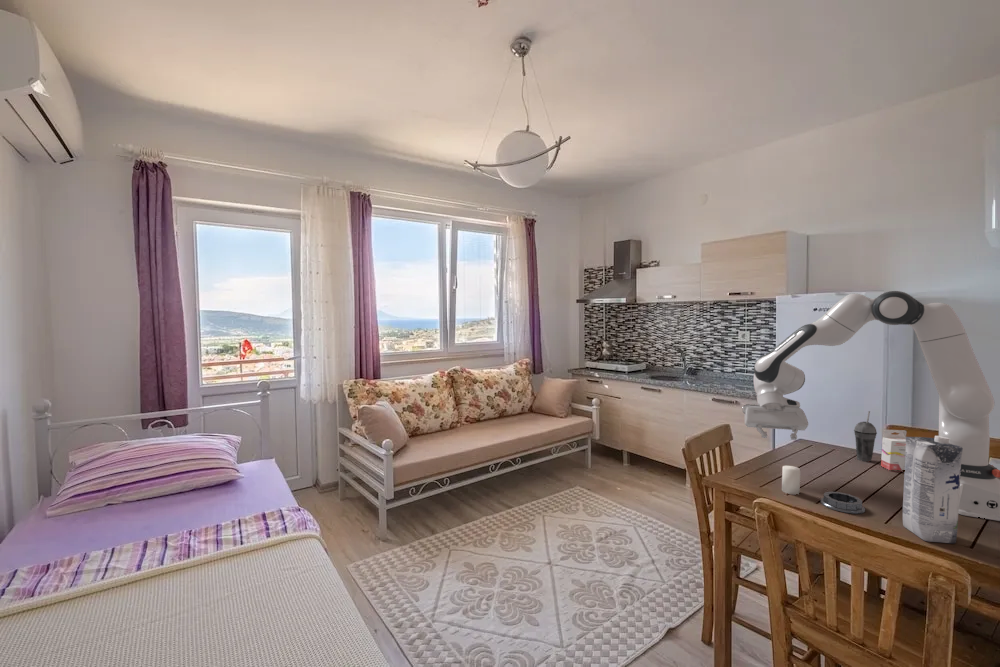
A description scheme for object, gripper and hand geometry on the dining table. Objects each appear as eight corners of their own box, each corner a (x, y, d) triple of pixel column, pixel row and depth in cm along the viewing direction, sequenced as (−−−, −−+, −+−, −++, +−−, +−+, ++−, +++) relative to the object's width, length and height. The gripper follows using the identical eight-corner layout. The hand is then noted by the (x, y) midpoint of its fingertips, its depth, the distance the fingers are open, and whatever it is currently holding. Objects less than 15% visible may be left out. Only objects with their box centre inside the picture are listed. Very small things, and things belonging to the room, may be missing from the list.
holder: (865, 505, 142) (865, 496, 142) (864, 517, 134) (864, 508, 133) (822, 495, 149) (822, 488, 149) (818, 507, 141) (819, 498, 140)
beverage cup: (848, 457, 189) (850, 409, 188) (866, 457, 188) (868, 409, 187) (861, 462, 181) (863, 412, 180) (880, 463, 181) (882, 413, 180)
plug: (800, 491, 153) (801, 467, 152) (798, 496, 149) (799, 471, 149) (783, 487, 156) (783, 464, 156) (780, 492, 152) (781, 468, 152)
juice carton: (922, 543, 119) (927, 440, 117) (896, 524, 129) (901, 430, 128) (963, 546, 117) (969, 442, 116) (933, 527, 127) (938, 432, 126)
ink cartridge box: (890, 471, 172) (891, 432, 171) (880, 466, 177) (882, 429, 176) (914, 472, 171) (916, 433, 170) (904, 467, 176) (906, 429, 175)
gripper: (743, 399, 173) (749, 431, 164) (804, 402, 168) (814, 435, 159) (739, 408, 178) (745, 440, 169) (799, 411, 172) (808, 444, 163)
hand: (779, 438), depth 164 cm, fingers open, 8 cm apart
